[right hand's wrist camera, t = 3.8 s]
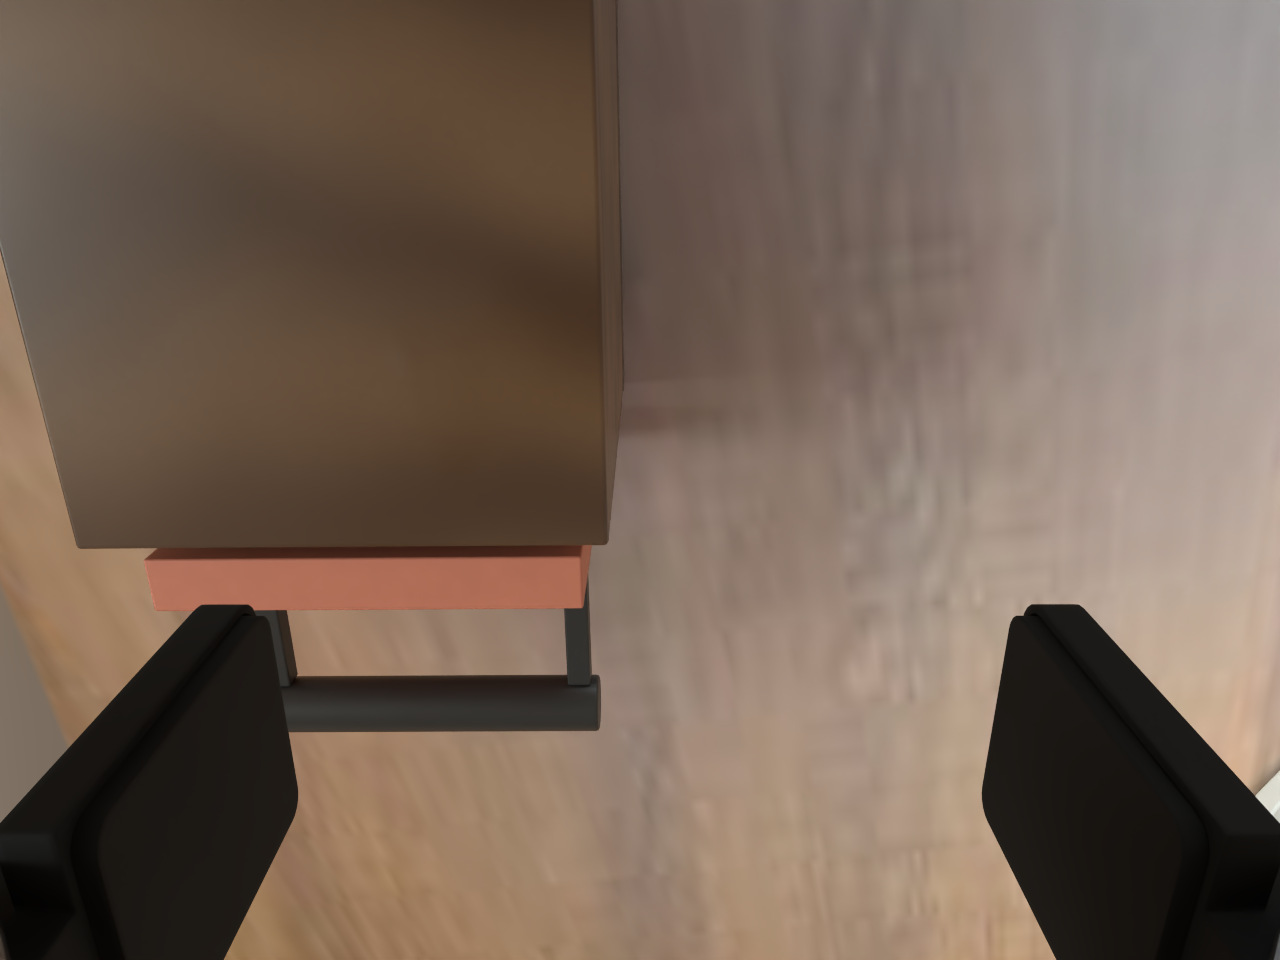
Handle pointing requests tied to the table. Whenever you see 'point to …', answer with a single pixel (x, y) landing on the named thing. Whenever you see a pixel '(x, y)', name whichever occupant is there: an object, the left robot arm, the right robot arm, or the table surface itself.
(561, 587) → the drawer
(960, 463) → the table surface
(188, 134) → the cabinet
